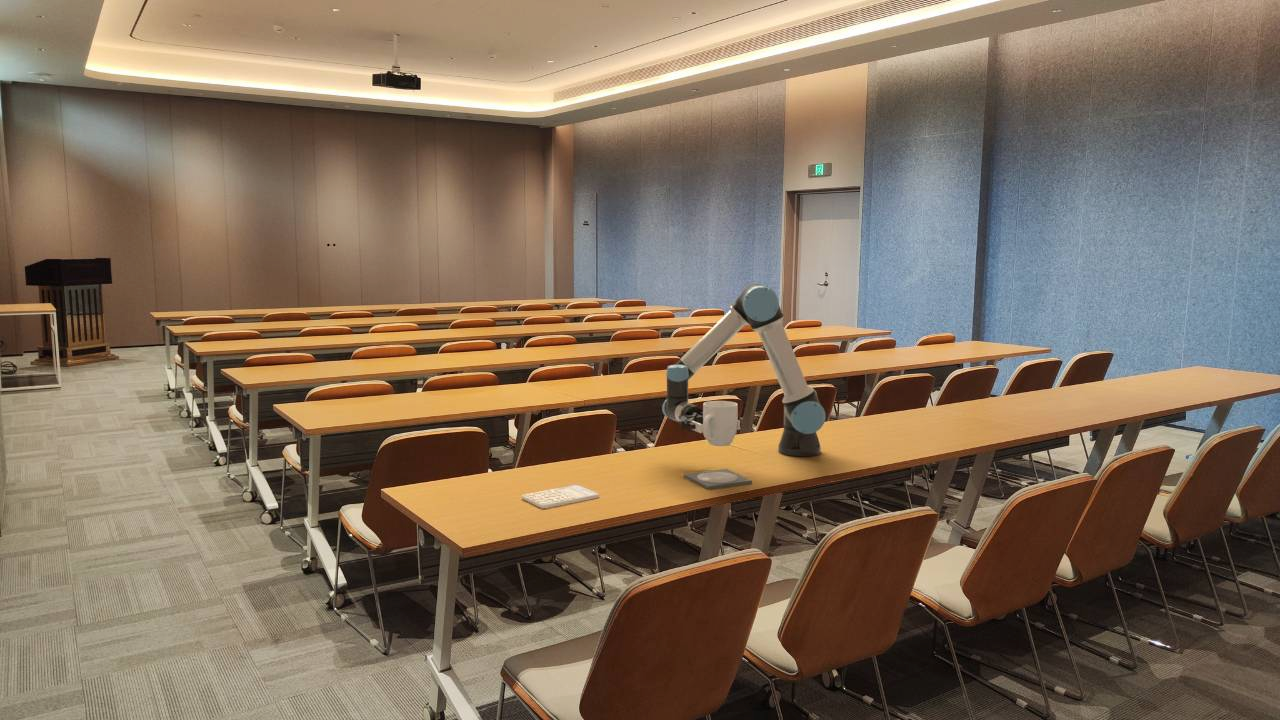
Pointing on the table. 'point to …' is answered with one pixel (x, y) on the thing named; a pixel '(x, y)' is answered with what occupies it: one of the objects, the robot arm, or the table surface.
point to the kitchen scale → (717, 479)
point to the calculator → (560, 496)
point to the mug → (720, 422)
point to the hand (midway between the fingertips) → (720, 427)
